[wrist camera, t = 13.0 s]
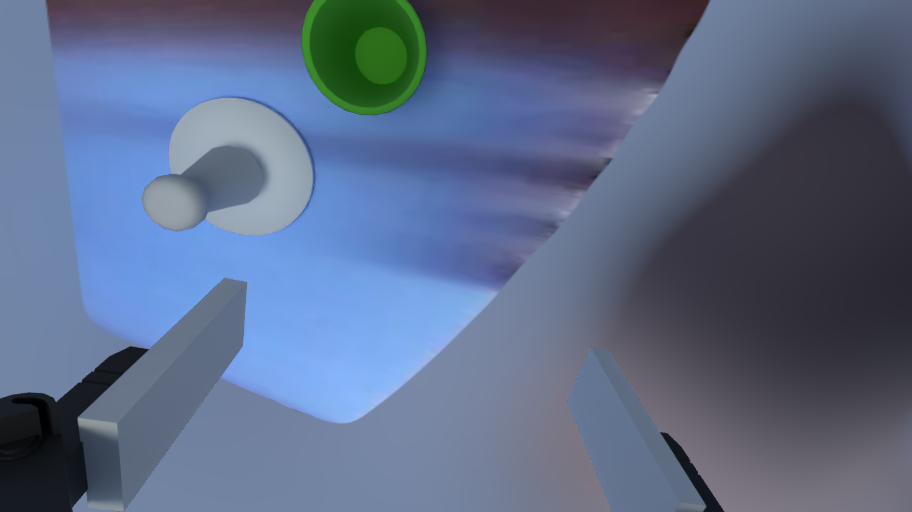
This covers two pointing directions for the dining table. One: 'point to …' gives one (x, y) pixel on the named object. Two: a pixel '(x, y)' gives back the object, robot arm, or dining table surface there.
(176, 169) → the ceramic plate
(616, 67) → the dining table surface
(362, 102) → the cup
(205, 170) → the salt shaker
